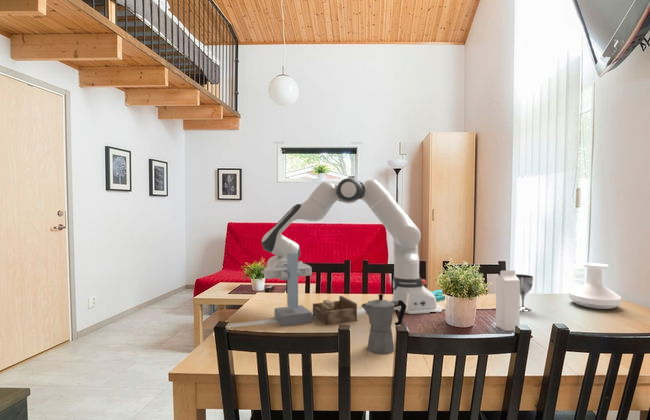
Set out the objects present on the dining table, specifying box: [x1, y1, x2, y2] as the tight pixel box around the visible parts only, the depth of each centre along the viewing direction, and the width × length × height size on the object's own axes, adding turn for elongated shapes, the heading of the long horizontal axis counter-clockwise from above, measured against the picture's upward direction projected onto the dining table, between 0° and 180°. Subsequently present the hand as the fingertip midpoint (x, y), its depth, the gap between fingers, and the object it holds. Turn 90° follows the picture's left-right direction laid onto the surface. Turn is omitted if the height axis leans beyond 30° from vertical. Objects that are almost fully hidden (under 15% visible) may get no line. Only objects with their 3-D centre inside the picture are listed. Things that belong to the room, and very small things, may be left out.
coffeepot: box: [360, 293, 406, 355], centre depth 123 cm, size 15×9×18 cm, turn 101°
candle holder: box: [568, 262, 622, 310], centre depth 174 cm, size 20×20×19 cm
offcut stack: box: [321, 299, 334, 312], centre depth 155 cm, size 3×8×7 cm, turn 23°
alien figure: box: [429, 289, 446, 302], centre depth 190 cm, size 20×2×20 cm
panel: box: [286, 252, 299, 309], centre depth 154 cm, size 3×5×22 cm, turn 23°
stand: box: [274, 304, 313, 327], centre depth 154 cm, size 12×12×4 cm
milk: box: [495, 270, 521, 332], centre depth 143 cm, size 6×6×22 cm
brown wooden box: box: [312, 295, 358, 326], centre depth 157 cm, size 14×14×7 cm
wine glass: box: [515, 273, 534, 312], centre depth 169 cm, size 8×8×15 cm
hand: (293, 275), depth 153 cm, fingers closed on panel, 3 cm apart
